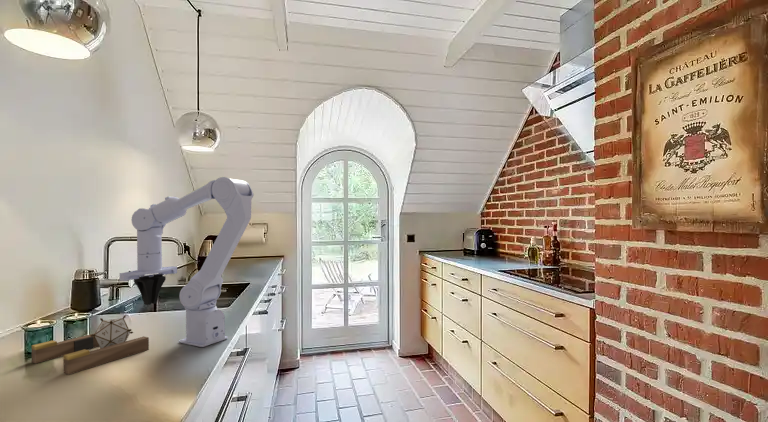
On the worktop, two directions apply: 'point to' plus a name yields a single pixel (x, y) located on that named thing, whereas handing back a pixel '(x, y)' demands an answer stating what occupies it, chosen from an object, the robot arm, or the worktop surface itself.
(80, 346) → the twin wooden rails
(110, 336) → the game die
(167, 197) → the robot arm
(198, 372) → the worktop surface
